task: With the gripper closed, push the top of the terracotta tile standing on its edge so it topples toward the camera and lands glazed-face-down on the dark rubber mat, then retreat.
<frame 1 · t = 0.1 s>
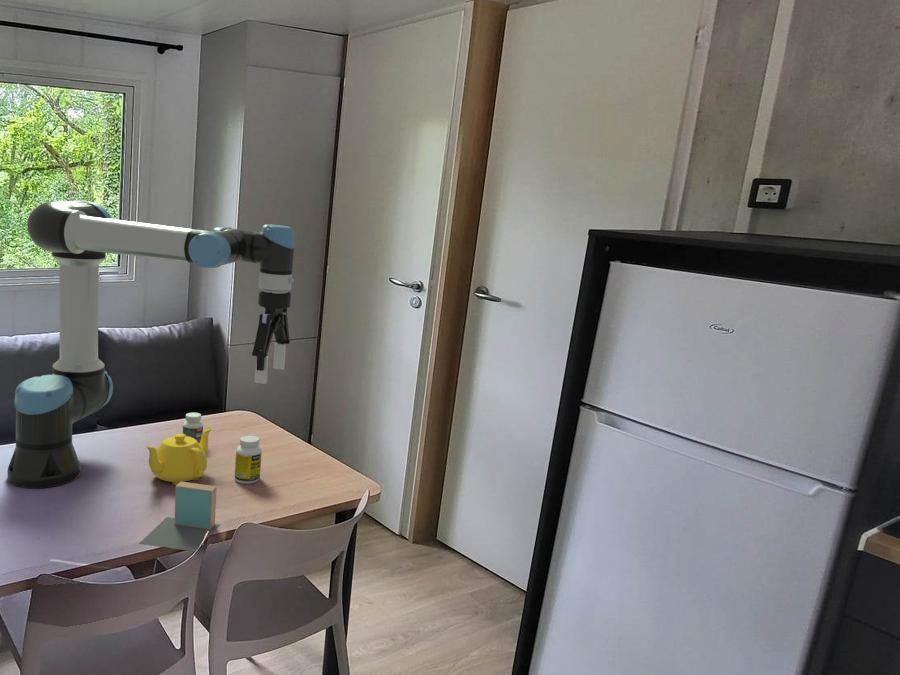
hand: (270, 375, 175), 28 cm above the table, fingers open, 13 cm apart
teapot: (181, 480, 177), on the table
mat: (180, 535, 151), on the table
pill bottle: (247, 480, 181), on the table
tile: (194, 524, 155), resting on mat
pill bottle 2: (192, 445, 199), on the table
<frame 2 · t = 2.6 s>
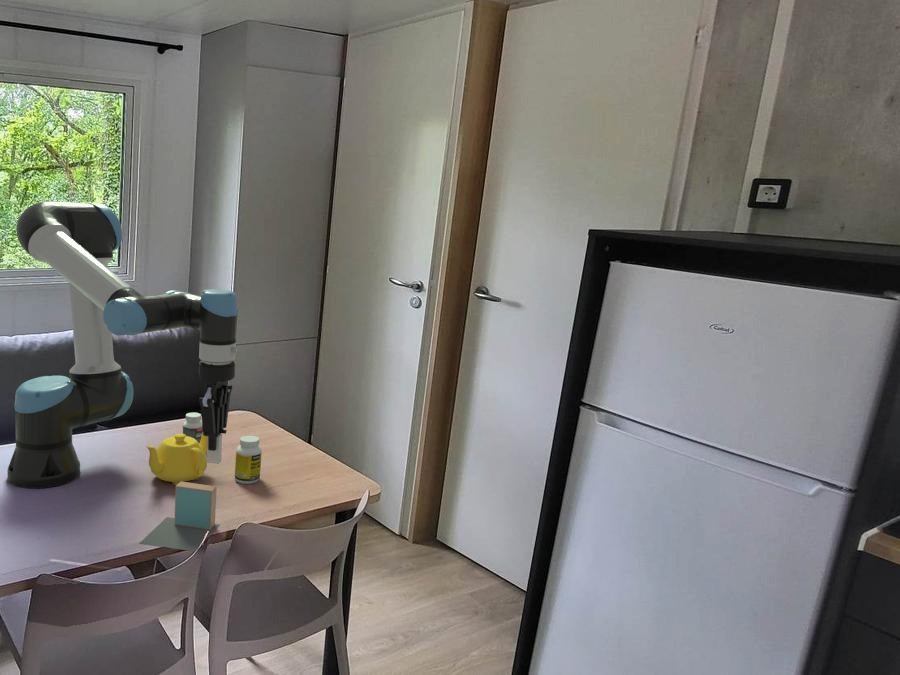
hand: (213, 461, 161), 12 cm above the table, fingers closed
nothing on the table moved.
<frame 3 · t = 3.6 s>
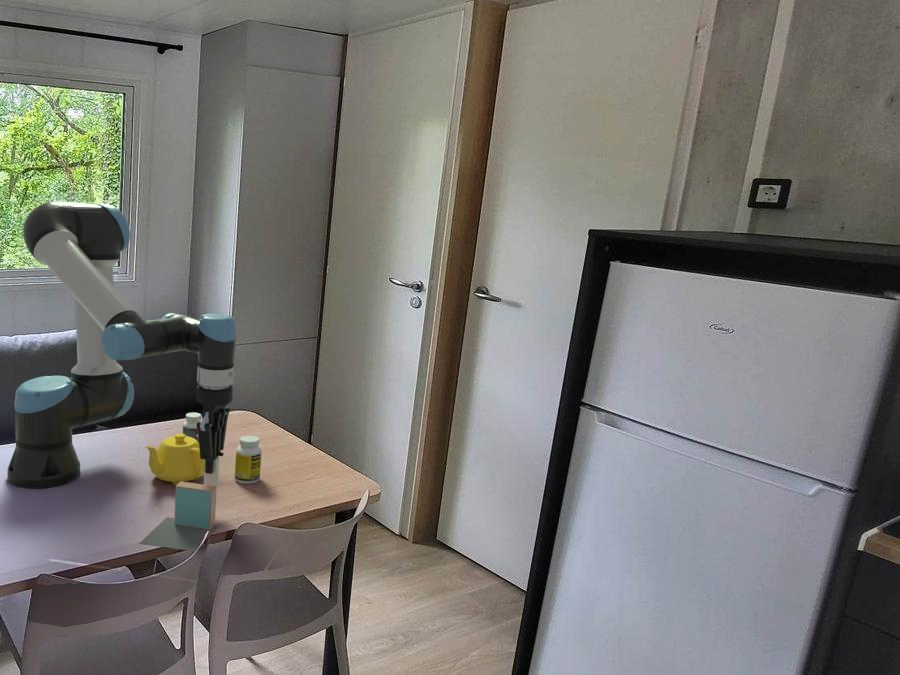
hand: (210, 484, 161), 6 cm above the table, fingers closed
nothing on the table moved.
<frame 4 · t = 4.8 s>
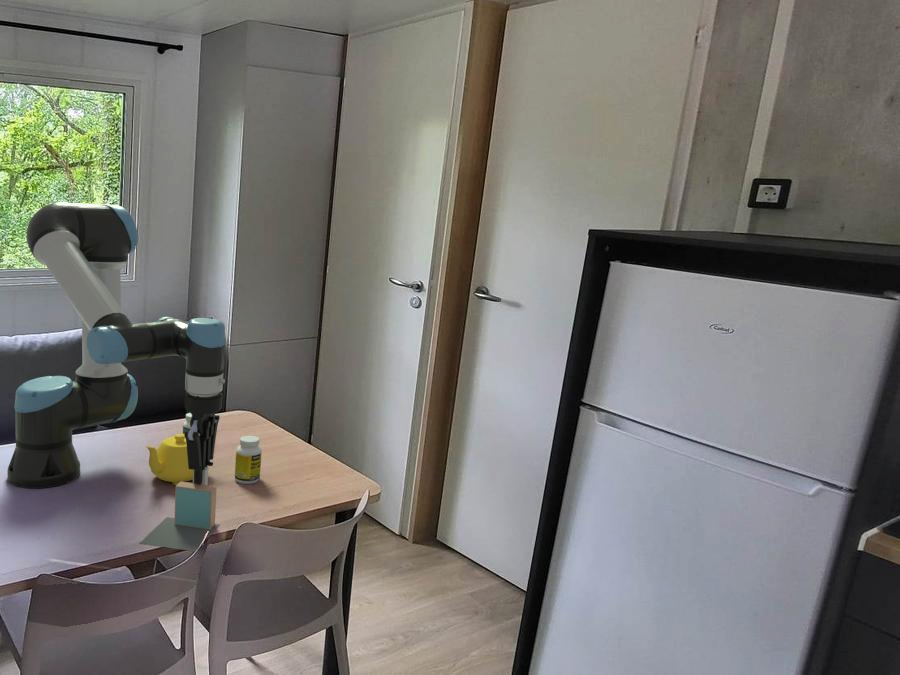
hand: (199, 495, 155), 6 cm above the table, fingers closed
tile: (194, 524, 155), resting on mat, touching gripper
everything else where it was.
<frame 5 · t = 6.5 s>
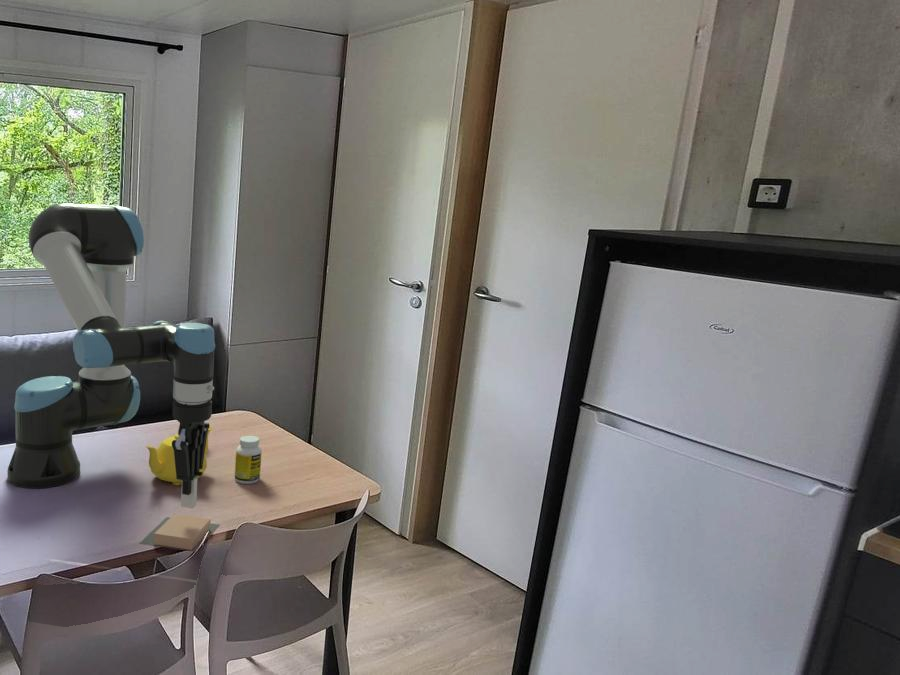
hand: (188, 506, 150), 6 cm above the table, fingers closed
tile: (192, 521, 153), point 2 cm above the table, tilted 90°, touching mat
everything else where it was.
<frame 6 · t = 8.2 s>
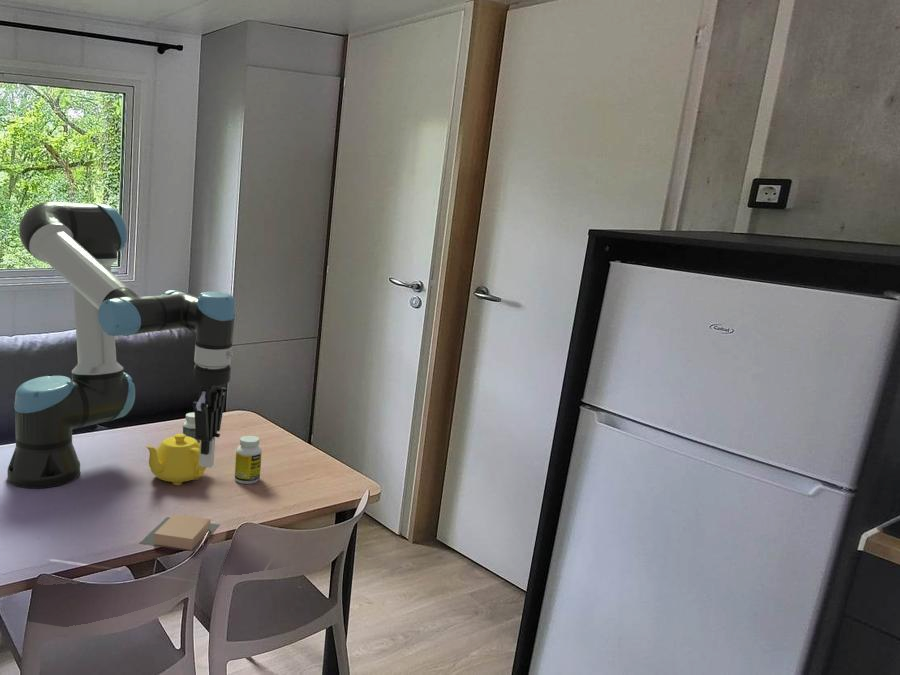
hand: (206, 465, 159), 12 cm above the table, fingers closed
nothing on the table moved.
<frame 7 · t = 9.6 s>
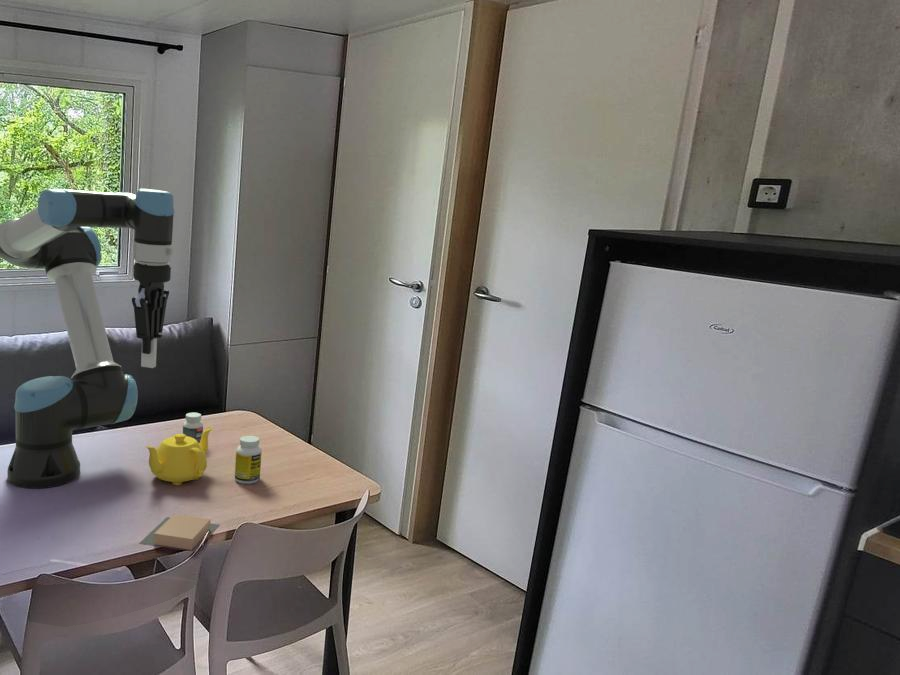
hand: (148, 366, 160), 31 cm above the table, fingers closed
nothing on the table moved.
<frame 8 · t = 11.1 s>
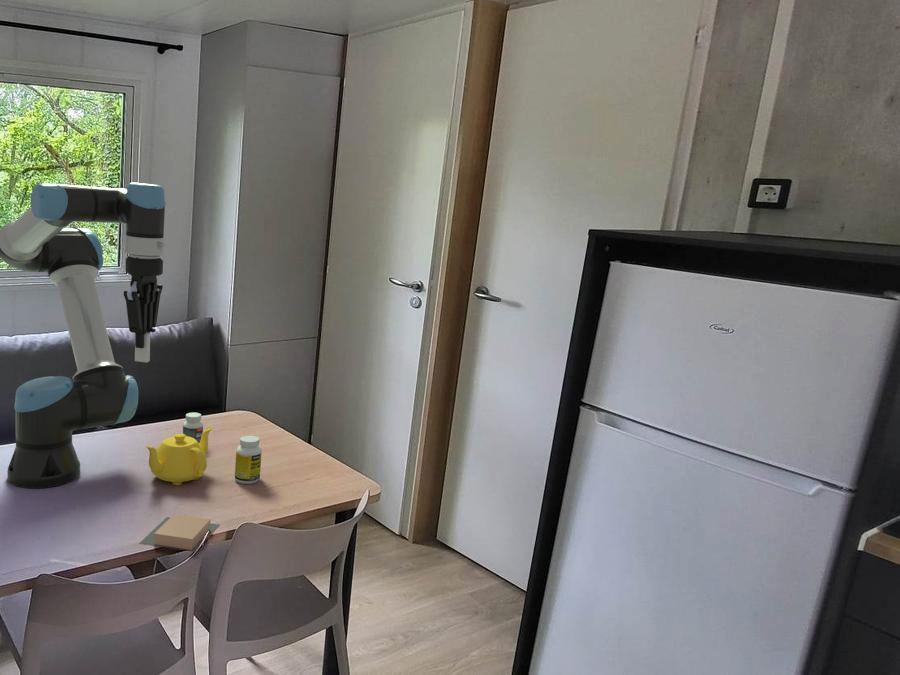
hand: (142, 360, 159), 32 cm above the table, fingers closed
nothing on the table moved.
at the end: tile tilted 90°; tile point 1.7 cm above the table; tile inside the target area (4.2 cm from its centre), point 1.7 cm above the table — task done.
